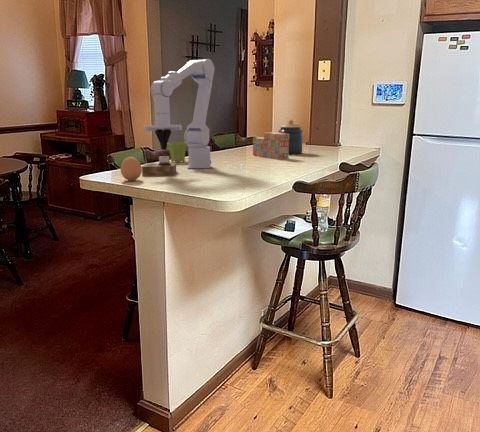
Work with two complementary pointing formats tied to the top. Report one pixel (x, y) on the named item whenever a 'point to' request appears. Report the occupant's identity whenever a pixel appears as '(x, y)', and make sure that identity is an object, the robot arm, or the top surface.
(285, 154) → the stack of blocks
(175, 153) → the plant pot
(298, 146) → the canister
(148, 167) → the socket block
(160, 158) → the peg
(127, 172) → the egg
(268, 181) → the top surface
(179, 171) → the top surface
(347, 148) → the top surface
